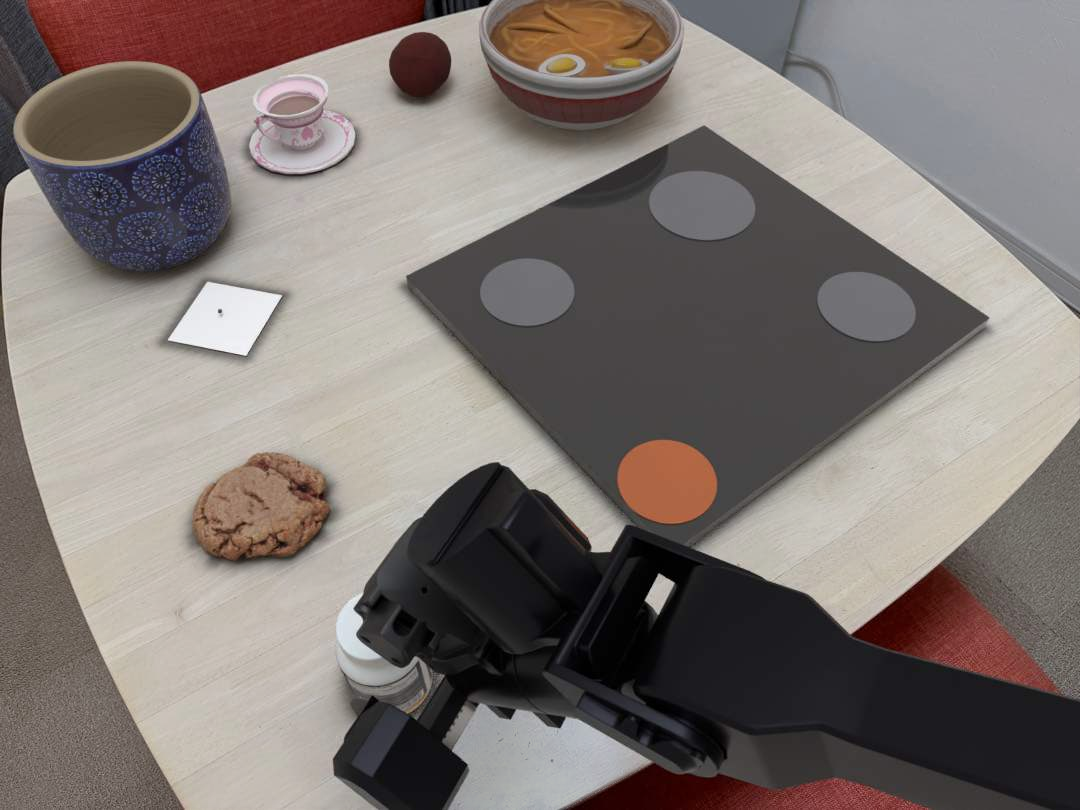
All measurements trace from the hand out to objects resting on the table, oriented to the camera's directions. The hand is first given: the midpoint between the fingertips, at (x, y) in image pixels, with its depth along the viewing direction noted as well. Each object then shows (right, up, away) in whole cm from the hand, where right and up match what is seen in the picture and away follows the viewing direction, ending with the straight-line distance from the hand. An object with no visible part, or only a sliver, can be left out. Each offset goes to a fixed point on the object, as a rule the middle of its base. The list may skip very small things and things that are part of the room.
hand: (400, 641), depth 55 cm
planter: (-30, +32, +37) cm, 58 cm away
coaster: (-21, +23, +30) cm, 43 cm away
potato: (-6, +53, +53) cm, 76 cm away
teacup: (-18, +45, +47) cm, 67 cm away
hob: (+23, +24, +30) cm, 45 cm away
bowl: (+13, +51, +51) cm, 74 cm away
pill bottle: (-2, -5, +8) cm, 10 cm away
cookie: (-13, +6, +16) cm, 22 cm away
